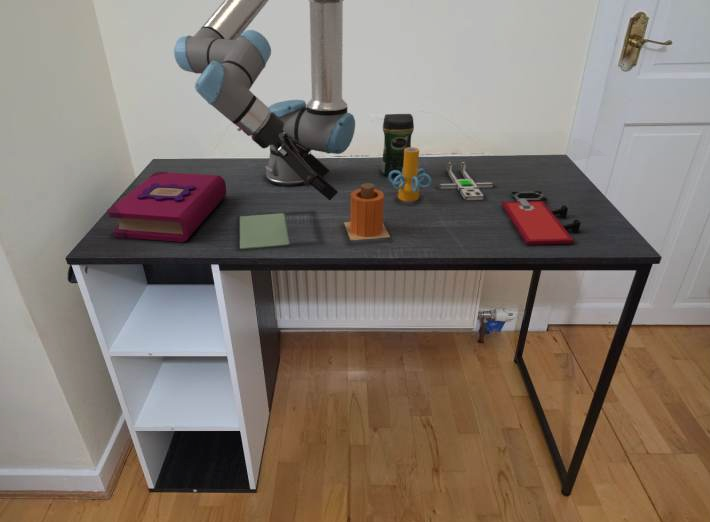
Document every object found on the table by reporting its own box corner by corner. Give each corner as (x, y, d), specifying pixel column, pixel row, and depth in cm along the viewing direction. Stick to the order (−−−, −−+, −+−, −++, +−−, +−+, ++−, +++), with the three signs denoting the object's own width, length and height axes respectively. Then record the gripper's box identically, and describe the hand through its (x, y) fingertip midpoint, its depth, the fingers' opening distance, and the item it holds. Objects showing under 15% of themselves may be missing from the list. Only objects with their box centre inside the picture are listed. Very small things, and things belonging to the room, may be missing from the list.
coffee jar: (409, 168, 172) (413, 110, 161) (412, 176, 165) (417, 117, 155) (379, 168, 171) (381, 111, 161) (382, 177, 165) (384, 118, 155)
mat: (239, 217, 141) (239, 216, 141) (312, 212, 144) (312, 210, 144) (240, 249, 127) (239, 248, 126) (321, 242, 129) (321, 241, 129)
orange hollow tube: (348, 223, 135) (348, 189, 130) (378, 221, 136) (379, 187, 131) (353, 237, 129) (354, 202, 123) (385, 235, 130) (387, 200, 124)
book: (227, 198, 152) (224, 173, 148) (189, 243, 129) (183, 215, 125) (160, 193, 156) (155, 169, 151) (111, 237, 132) (103, 209, 128)
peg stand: (343, 226, 136) (343, 179, 129) (381, 223, 138) (383, 176, 131) (350, 244, 128) (350, 195, 121) (390, 241, 129) (392, 192, 122)
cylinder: (432, 196, 152) (437, 145, 144) (425, 210, 144) (430, 158, 136) (391, 191, 156) (394, 141, 147) (382, 205, 147) (385, 153, 139)
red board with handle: (546, 194, 152) (494, 195, 152) (548, 185, 150) (496, 186, 151) (587, 244, 127) (526, 246, 127) (590, 234, 126) (528, 236, 126)
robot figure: (430, 173, 168) (446, 200, 149) (431, 163, 166) (447, 190, 148) (480, 171, 168) (502, 199, 150) (482, 161, 167) (504, 188, 148)
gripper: (249, 121, 125) (312, 176, 135) (250, 155, 105) (325, 217, 115) (269, 97, 123) (332, 155, 133) (274, 127, 102) (349, 193, 113)
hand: (329, 184), depth 124 cm, fingers open, 13 cm apart
